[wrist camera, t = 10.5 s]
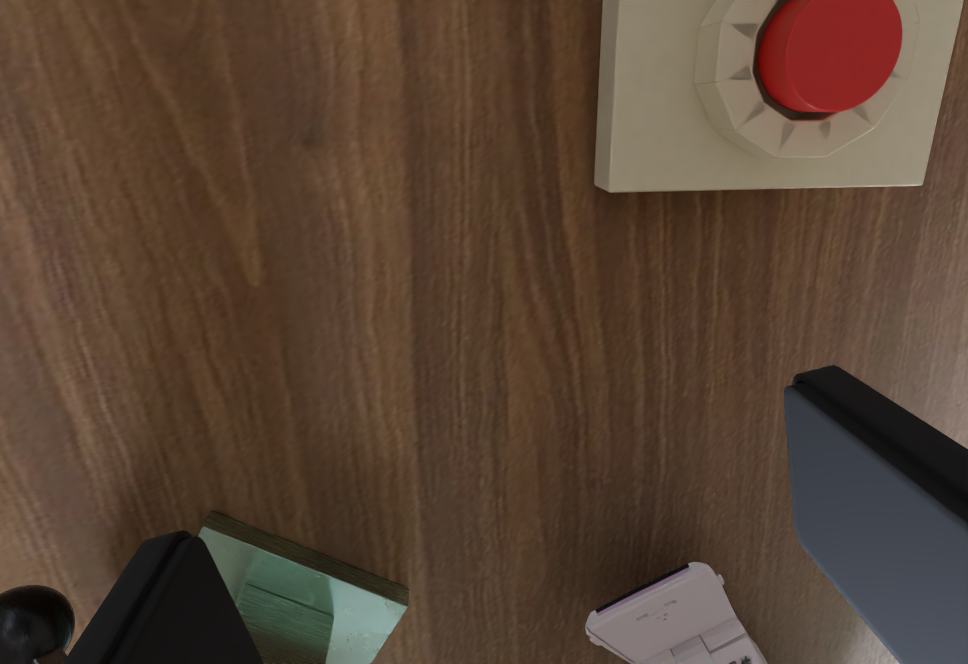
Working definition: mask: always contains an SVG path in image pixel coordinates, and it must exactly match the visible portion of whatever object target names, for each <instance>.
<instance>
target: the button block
mask: <svg viewBox="0 0 968 664" xmlns="http://www.w3.org/2000/svg"><path fill="white" fill-rule="evenodd" d="M788 1H789V0H603V6H602V27H601V48H600V69H599V90H598V111H597V132H596V153H595V174H594V185H595V186H597V187H599V188H602V189H604V190H606V191H608V192H610V193H612V192H657V191H702V190H747V189H791V188H836V187H881V186H920V185H922V184H923V182H924V177H925V173H926V168H927V164H928V159H929V155H930V150H931V146H932V141H933V137H934V132H935V128H936V123H937V119H938V114H939V110H940V105H941V101H942V96H943V92H944V87H945V83H946V78H947V74H948V69H949V65H950V60H951V56H952V51H953V47H954V42H955V38H956V33H957V29H958V24H959V20H960V15H961V11H962V6H963V2H964V0H893V1H894V2H895V4H896V6H897V8H898V11H899V13H900V17H901V21H902V30H903V33H902V45H901V50H900V54H899V58H898V60H897V63H896V65H895V67H894V69H893V72H892V73H891V75H890V77H889V78H888V80H887V81H886V82H885V84H884V85H883V86H882V87H881V88H880V89H879V90H878V91H877V93H875V94H874V95H873V96H872V97H871V98H870V99H868V100H867V101H865V102H864V103H862V104H860V105H858V106H856V107H854V108H852V109H849V110H846V111H841V112H798V111H792V110H789V109H786V108H784V107H782V106H780V105H778V104H777V103H776V102H775V101H773V100H772V98H771V97H770V96H769V95H768V94H767V92H766V91H765V89H764V87H763V85H762V83H761V80H760V76H759V71H758V51H759V45H760V42H761V39H762V36H763V33H764V31H765V29H766V27H767V25H768V23H769V22H770V20H771V19H772V17H773V16H774V14H775V13H776V12H777V11H778V10H779V9H780V8H781V7H782V6H783V5H784V4H785V3H786V2H788Z"/></svg>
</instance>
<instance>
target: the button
mask: <svg viewBox="0 0 968 664" xmlns="http://www.w3.org/2000/svg"><path fill="white" fill-rule="evenodd" d="M902 33H903V30H902V21H901V17H900V13H899V11H898V8H897V6H896V4H895V2H894V1H893V0H789V1H788V2H786V3H785V4H784V5H783V6H782V7H781V8H780V9H779V10H778V11H777V12H776V13H775V14H774V16H773V17H772V19H771V20H770V22H769V23H768V25H767V27H766V29H765V31H764V33H763V36H762V39H761V42H760V45H759V51H758V71H759V76H760V80H761V83H762V85H763V87H764V89H765V91H766V92H767V94H768V95H769V96H770V97H771V98H772V100H773V101H775V102H776V103H777V104H778V105H780V106H782V107H784V108H786V109H789V110H792V111H798V112H841V111H846V110H849V109H852V108H854V107H856V106H858V105H860V104H862V103H864V102H865V101H867V100H868V99H870V98H871V97H872V96H873V95H874V94H875V93H877V91H878V90H879V89H880V88H881V87H882V86H883V85H884V84H885V82H886V81H887V80H888V78H889V77H890V75H891V73H892V72H893V69H894V67H895V65H896V63H897V60H898V58H899V54H900V50H901V45H902Z"/></svg>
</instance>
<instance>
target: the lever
mask: <svg viewBox="0 0 968 664" xmlns="http://www.w3.org/2000/svg"><path fill="white" fill-rule="evenodd" d="M74 628H75V615H74V611H73V608H72V606H71V604H70V602H69V601H68V600H67V598H66V597H65V596H64V595H63V594H61V593H60V592H58V591H57V590H55V589H53V588H50V587H46V586H41V585H26V586H20V587H16V588H13V589H10V590H8V591H5V592H3V593H1V594H0V664H63V662H64V661H65V659H66V657H67V655H66V654H65V651H66V649H67V648H68V646H69V644H70V642H71V639H72V637H73V633H74Z"/></svg>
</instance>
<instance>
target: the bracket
mask: <svg viewBox="0 0 968 664" xmlns="http://www.w3.org/2000/svg"><path fill="white" fill-rule="evenodd" d="M197 537H200V538H201V539H203V541H204V542H205V544H206V546H207V548H208V550H209V552H210V554H211V556H212V558H213V560H214V562H215V564H216V566H217V568H218V570H219V572H220V574H221V576H222V578H223V580H224V582H225V584H226V586H227V589H228V591H229V593H230V595H231V597H232V599H233V601H234V603H235V605H236V607H237V609H238V611H239V613H240V615H241V617H242V619H243V621H244V623H245V625H246V627H247V629H248V631H249V633H250V636H251V638H252V640H253V642H254V644H255V646H256V648H257V650H258V652H259V654H260V656H261V658H262V661H263V663H264V664H371V662H372V661H373V659H374V658H375V656H376V655H377V653H378V652H379V650H380V649H381V647H382V646H383V644H384V643H385V641H386V640H387V638H388V637H389V635H390V634H391V632H392V631H393V629H394V628H395V626H396V625H397V623H398V622H399V620H400V619H401V617H402V616H403V614H404V612H405V611H406V609H407V608H408V599H409V589H408V588H405V587H403V586H400V585H398V584H395V583H393V582H390V581H388V580H385V579H383V578H380V577H378V576H375V575H373V574H370V573H368V572H365V571H363V570H360V569H358V568H355V567H353V566H350V565H348V564H345V563H343V562H340V561H338V560H335V559H333V558H330V557H328V556H325V555H323V554H320V553H318V552H315V551H312V550H310V549H307V548H305V547H302V546H300V545H297V544H295V543H292V542H290V541H287V540H285V539H282V538H280V537H277V536H275V535H272V534H270V533H267V532H265V531H262V530H260V529H257V528H255V527H252V526H250V525H247V524H245V523H242V522H240V521H237V520H235V519H232V518H230V517H227V516H225V515H222V514H220V513H217V512H215V511H211V512H210V513H209V515H208V517H207V519H206V521H205V523H204V525H203V526H202V528H201V530H200V532H199V534H198V536H197Z"/></svg>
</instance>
